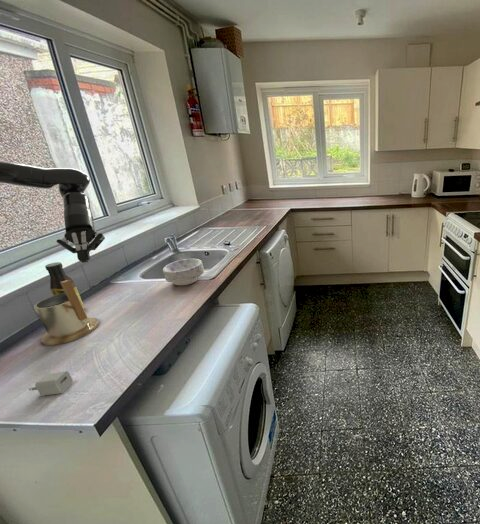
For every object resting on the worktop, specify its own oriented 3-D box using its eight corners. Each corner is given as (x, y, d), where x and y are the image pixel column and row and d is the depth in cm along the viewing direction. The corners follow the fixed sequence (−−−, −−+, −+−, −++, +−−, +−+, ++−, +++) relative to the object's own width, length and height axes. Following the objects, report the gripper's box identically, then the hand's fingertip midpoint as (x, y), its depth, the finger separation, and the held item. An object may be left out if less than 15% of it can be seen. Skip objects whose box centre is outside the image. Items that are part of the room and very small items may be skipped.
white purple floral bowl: (186, 290, 118) (181, 273, 115) (159, 286, 123) (153, 270, 120) (213, 275, 131) (209, 259, 128) (188, 272, 136) (183, 257, 133)
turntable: (34, 351, 86) (33, 349, 85) (50, 328, 97) (49, 326, 97) (94, 335, 92) (93, 332, 92) (102, 315, 103) (101, 313, 103)
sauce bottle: (59, 318, 103) (33, 267, 95) (77, 309, 108) (53, 260, 101) (74, 319, 102) (49, 268, 94) (91, 309, 107) (69, 260, 100)
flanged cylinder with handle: (42, 335, 92) (12, 282, 84) (78, 318, 100) (54, 269, 93) (73, 345, 86) (44, 289, 79) (109, 326, 95) (86, 274, 87)
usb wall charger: (61, 394, 69) (54, 381, 68) (29, 398, 68) (21, 386, 67) (73, 381, 73) (67, 369, 72) (43, 386, 72) (36, 373, 71)
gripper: (48, 216, 96) (52, 260, 91) (97, 210, 102) (104, 252, 97) (60, 228, 102) (64, 270, 97) (106, 221, 108) (112, 261, 103)
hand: (84, 261), depth 97 cm, fingers closed
